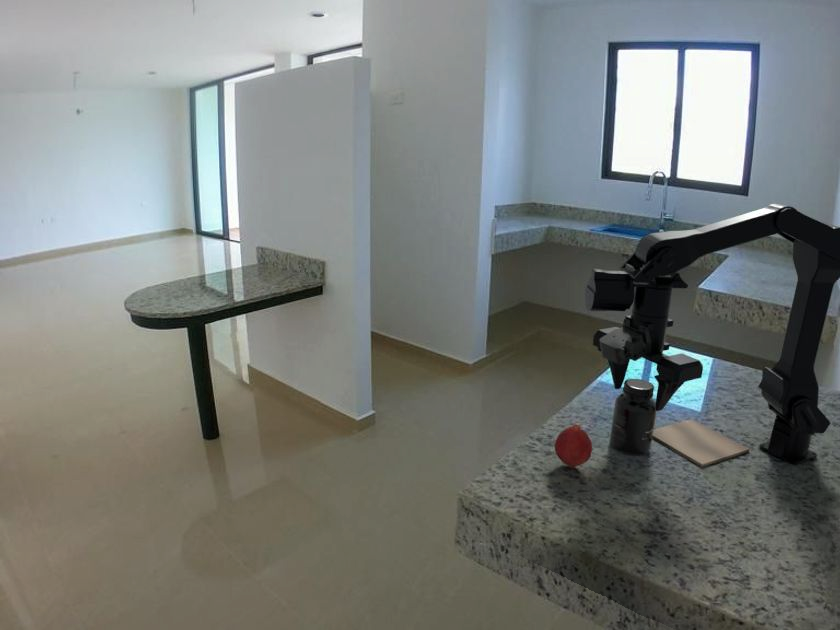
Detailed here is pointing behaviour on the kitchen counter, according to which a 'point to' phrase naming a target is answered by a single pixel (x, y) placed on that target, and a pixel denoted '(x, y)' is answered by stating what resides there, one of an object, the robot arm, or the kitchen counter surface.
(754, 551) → the kitchen counter surface
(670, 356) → the robot arm
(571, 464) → the onion
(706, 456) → the tan board
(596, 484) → the kitchen counter surface
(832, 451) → the kitchen counter surface
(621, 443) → the supplement bottle
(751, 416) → the kitchen counter surface
